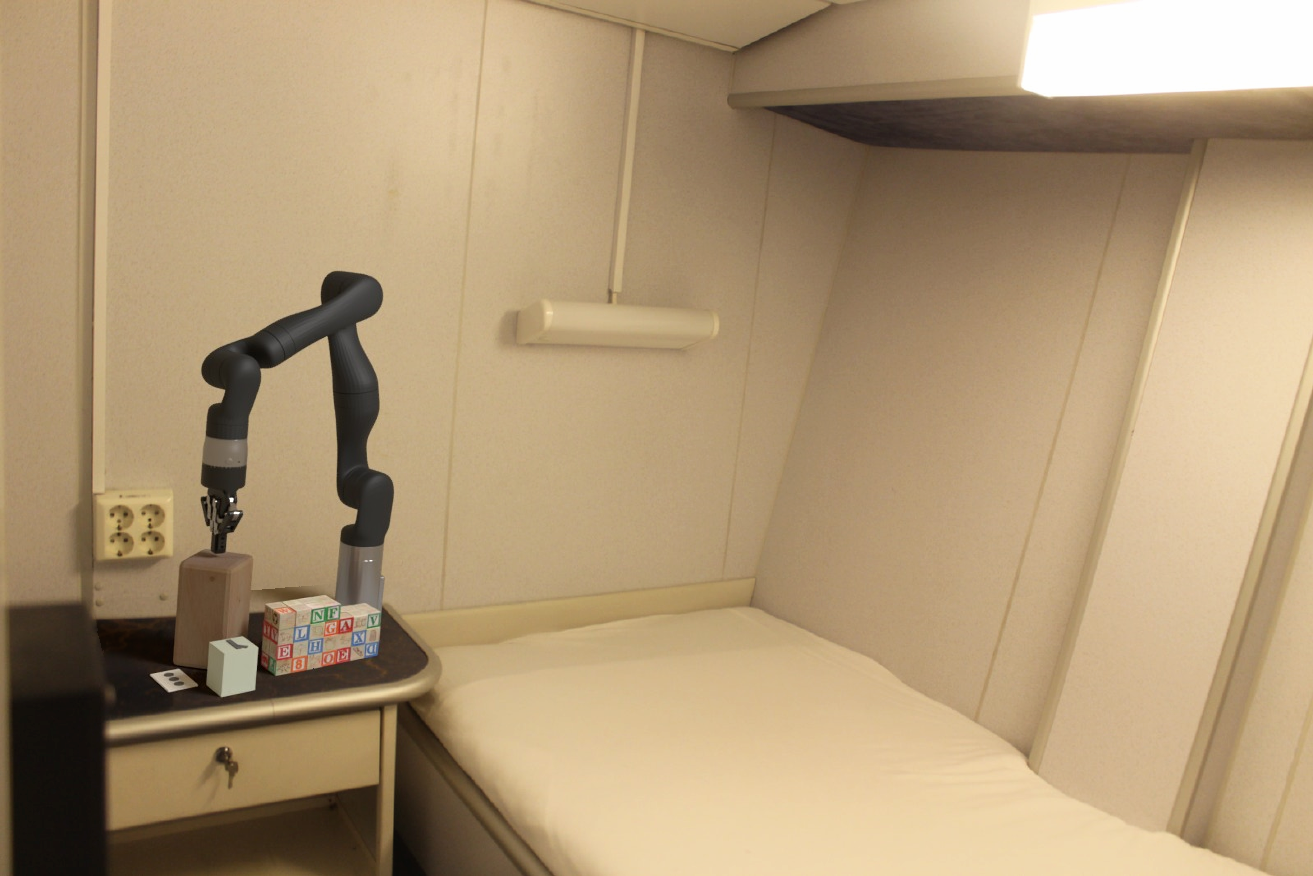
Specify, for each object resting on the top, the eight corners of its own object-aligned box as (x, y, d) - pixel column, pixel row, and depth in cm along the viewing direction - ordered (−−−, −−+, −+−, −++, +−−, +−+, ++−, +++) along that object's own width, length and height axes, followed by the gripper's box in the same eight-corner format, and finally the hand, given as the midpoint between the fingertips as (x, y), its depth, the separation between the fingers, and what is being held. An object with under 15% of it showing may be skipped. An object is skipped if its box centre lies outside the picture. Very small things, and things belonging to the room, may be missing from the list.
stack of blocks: (362, 645, 201) (367, 588, 199) (378, 656, 197) (383, 597, 195) (259, 665, 185) (264, 602, 184) (274, 677, 181) (279, 613, 179)
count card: (150, 675, 175) (150, 673, 174) (179, 670, 178) (179, 668, 178) (168, 692, 169) (168, 690, 169) (197, 686, 173) (197, 684, 173)
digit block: (239, 678, 179) (242, 635, 177) (255, 690, 175) (258, 646, 173) (206, 685, 174) (209, 641, 173) (221, 697, 170) (224, 652, 169)
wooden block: (224, 673, 179) (232, 568, 177) (170, 666, 179) (177, 561, 176) (248, 653, 189) (255, 553, 186) (196, 647, 189) (203, 546, 186)
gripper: (261, 467, 177) (254, 560, 180) (229, 452, 186) (222, 541, 188) (220, 469, 172) (213, 565, 174) (188, 453, 180) (182, 545, 183)
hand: (217, 552), depth 181 cm, fingers closed
